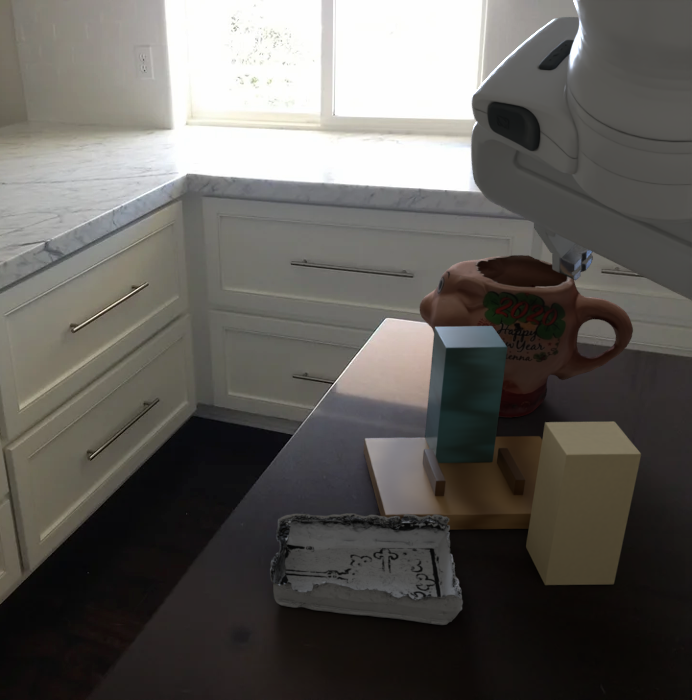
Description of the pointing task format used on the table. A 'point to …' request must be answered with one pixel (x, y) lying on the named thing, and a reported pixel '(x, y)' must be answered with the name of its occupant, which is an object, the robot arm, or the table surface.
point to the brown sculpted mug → (525, 321)
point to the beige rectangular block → (581, 502)
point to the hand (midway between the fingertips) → (646, 306)
